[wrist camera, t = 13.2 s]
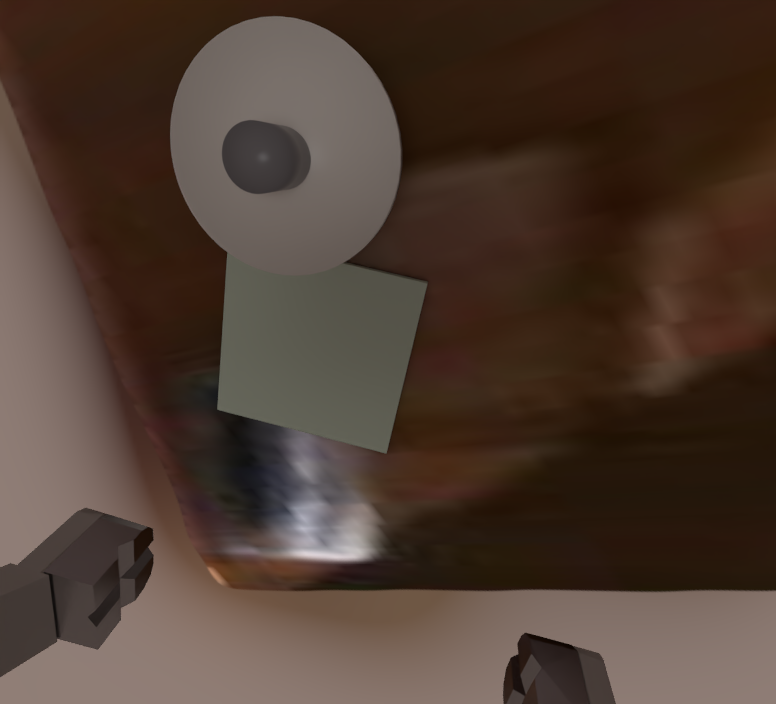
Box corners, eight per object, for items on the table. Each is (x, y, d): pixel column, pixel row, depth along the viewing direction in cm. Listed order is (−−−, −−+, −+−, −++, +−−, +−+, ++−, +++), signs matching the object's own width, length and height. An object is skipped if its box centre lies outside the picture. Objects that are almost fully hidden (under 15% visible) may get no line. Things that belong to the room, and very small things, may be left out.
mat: (428, 281, 37) (427, 283, 36) (387, 449, 43) (386, 453, 42) (231, 235, 38) (228, 236, 37) (220, 406, 44) (217, 409, 43)
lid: (425, 48, 26) (416, 22, 21) (379, 292, 31) (363, 316, 26) (182, 0, 27) (121, -35, 22) (179, 246, 32) (129, 261, 27)
